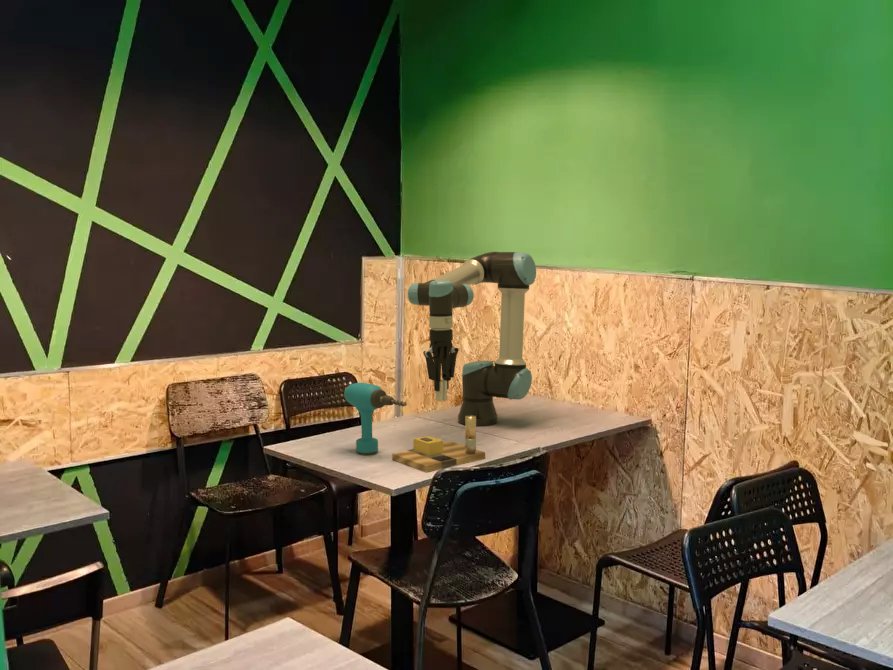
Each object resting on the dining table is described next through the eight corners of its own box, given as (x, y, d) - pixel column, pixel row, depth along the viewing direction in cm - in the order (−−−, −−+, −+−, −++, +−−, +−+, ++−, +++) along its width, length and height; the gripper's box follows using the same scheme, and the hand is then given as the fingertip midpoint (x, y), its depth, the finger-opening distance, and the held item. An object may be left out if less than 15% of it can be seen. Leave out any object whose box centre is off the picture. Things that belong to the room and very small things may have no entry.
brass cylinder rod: (463, 452, 274) (463, 416, 273) (471, 450, 276) (471, 414, 275) (470, 454, 272) (470, 418, 270) (478, 453, 274) (478, 416, 272)
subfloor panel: (392, 459, 274) (392, 453, 274) (450, 446, 289) (450, 441, 288) (426, 472, 260) (426, 466, 260) (485, 458, 275) (485, 452, 275)
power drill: (416, 460, 273) (415, 389, 270) (396, 466, 266) (396, 393, 263) (358, 445, 292) (356, 378, 288) (338, 450, 285) (337, 382, 282)
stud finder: (413, 450, 277) (413, 437, 276) (428, 447, 281) (428, 434, 280) (428, 455, 271) (428, 442, 270) (443, 452, 275) (443, 439, 274)
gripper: (430, 331, 266) (431, 405, 270) (465, 327, 275) (465, 399, 279) (416, 329, 272) (417, 401, 276) (450, 325, 281) (451, 395, 284)
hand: (441, 400), depth 277 cm, fingers closed
